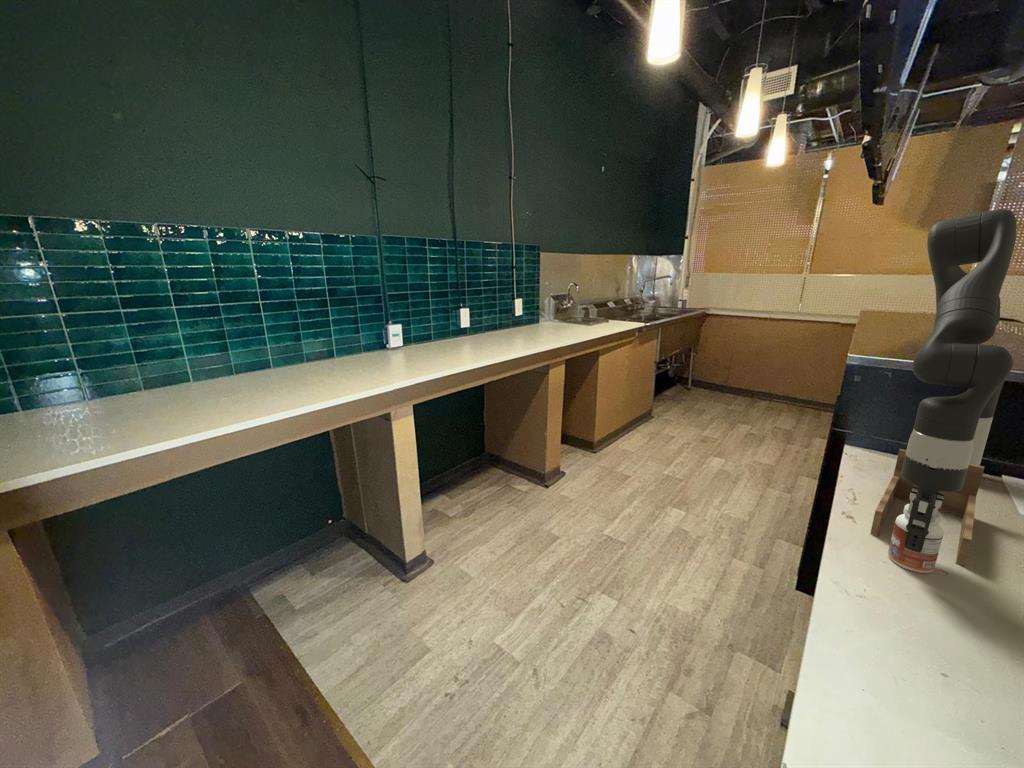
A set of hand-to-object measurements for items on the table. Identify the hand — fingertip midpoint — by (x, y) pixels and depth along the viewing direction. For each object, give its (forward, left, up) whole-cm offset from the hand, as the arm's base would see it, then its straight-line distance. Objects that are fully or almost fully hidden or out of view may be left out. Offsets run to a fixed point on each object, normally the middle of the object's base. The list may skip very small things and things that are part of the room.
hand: (915, 539), depth 72 cm
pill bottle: (0, 0, -5) cm, 5 cm away
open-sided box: (-17, 0, -5) cm, 18 cm away
